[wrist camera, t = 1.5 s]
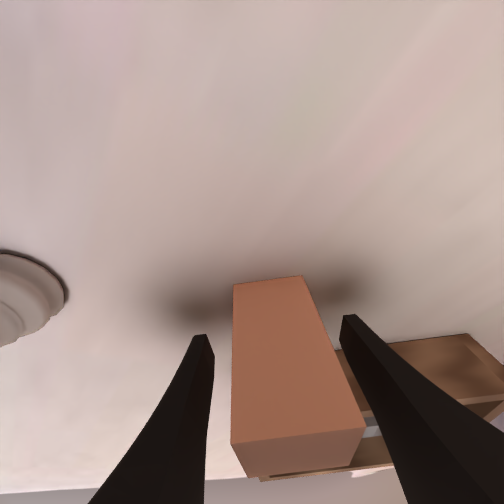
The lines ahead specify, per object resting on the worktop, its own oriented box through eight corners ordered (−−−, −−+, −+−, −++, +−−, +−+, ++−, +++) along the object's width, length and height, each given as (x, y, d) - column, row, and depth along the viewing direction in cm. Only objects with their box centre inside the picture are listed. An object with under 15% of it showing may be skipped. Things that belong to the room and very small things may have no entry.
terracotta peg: (302, 275, 12) (367, 426, 6) (301, 320, 14) (348, 465, 8) (233, 284, 12) (230, 443, 6) (243, 328, 14) (247, 478, 8)
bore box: (468, 333, 16) (530, 390, 13) (413, 410, 23) (443, 459, 20) (237, 363, 16) (238, 427, 13) (256, 430, 24) (260, 481, 20)
